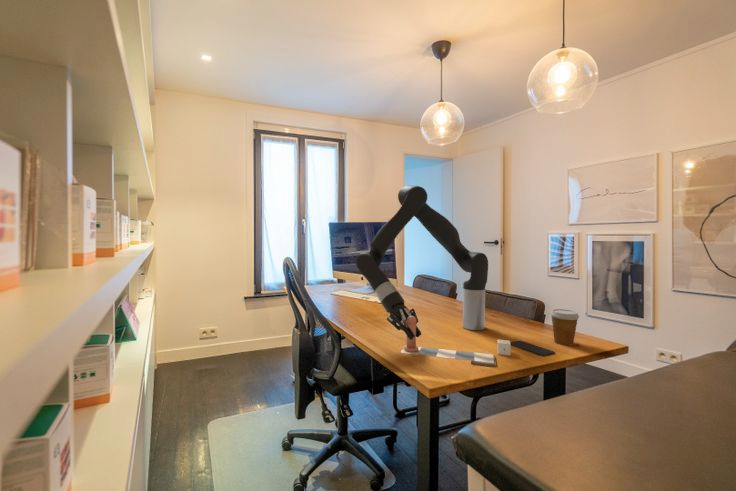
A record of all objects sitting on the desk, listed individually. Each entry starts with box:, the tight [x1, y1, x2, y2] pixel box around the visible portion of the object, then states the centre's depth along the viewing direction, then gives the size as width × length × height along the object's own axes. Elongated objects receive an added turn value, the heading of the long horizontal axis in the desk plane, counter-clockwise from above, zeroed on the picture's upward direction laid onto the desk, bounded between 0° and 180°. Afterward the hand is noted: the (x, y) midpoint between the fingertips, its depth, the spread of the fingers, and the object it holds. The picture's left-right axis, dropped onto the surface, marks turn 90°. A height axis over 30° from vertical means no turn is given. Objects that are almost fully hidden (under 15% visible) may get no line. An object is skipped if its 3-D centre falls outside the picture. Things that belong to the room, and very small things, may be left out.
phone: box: [510, 340, 556, 357], centre depth 125 cm, size 7×1×15 cm
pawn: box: [403, 316, 419, 352], centre depth 120 cm, size 5×5×12 cm
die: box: [496, 339, 512, 356], centre depth 120 cm, size 4×4×4 cm
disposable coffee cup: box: [549, 308, 580, 346], centre depth 132 cm, size 10×10×12 cm
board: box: [400, 346, 497, 368], centre depth 117 cm, size 9×31×1 cm, turn 73°
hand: (416, 336), depth 119 cm, fingers closed on pawn, 3 cm apart
